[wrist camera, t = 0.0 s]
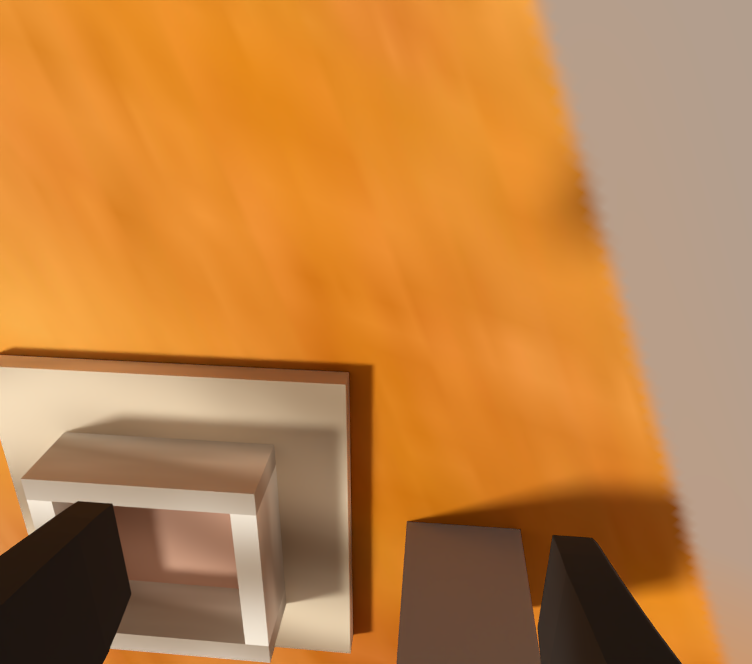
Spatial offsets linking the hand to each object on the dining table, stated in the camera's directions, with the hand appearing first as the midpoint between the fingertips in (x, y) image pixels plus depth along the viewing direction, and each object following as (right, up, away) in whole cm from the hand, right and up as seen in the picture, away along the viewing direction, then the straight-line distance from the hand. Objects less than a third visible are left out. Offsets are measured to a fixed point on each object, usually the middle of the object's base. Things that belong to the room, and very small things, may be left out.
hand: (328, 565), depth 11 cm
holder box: (-6, -3, +13) cm, 15 cm away
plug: (+4, -5, +13) cm, 15 cm away
